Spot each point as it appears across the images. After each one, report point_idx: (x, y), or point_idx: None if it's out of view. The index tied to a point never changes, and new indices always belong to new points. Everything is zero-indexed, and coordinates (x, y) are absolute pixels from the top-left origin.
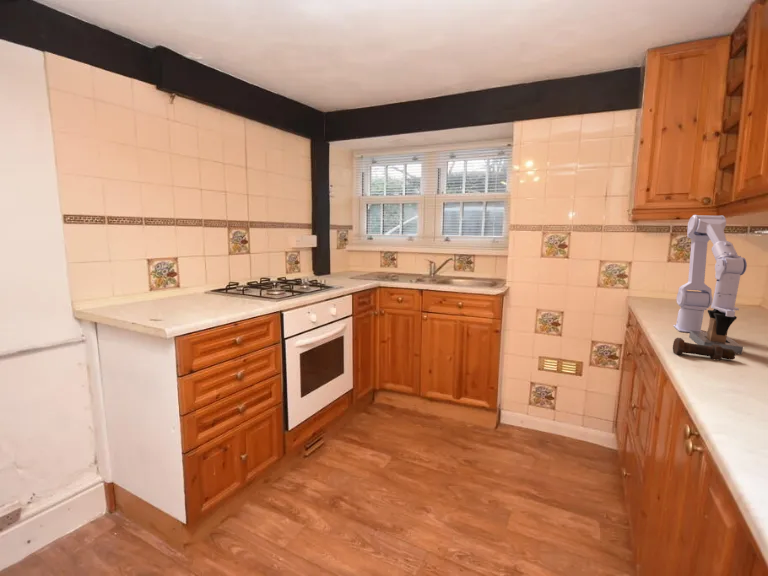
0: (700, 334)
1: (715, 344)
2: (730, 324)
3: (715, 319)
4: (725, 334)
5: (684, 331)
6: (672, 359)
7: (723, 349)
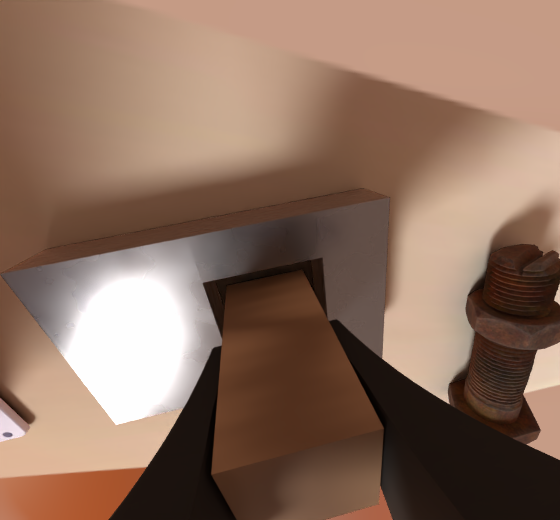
0: (194, 383)
1: (532, 343)
2: (429, 394)
3: (391, 515)
4: (323, 320)
5: (16, 415)
6: (529, 384)
7: (549, 306)
